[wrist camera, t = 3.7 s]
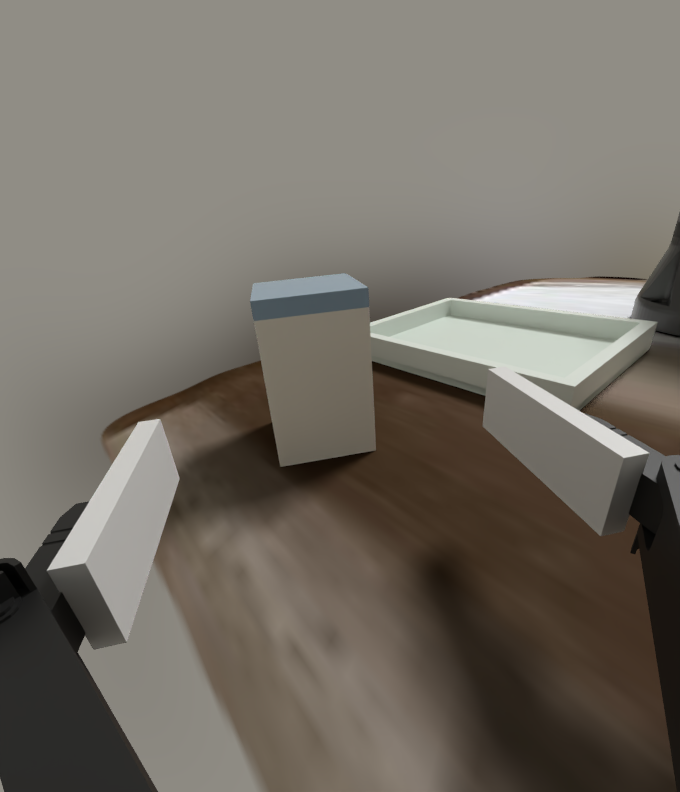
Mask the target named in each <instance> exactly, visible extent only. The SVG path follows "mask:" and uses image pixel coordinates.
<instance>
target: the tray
mask: <svg viewBox="0 0 680 792" xmlns="http://www.w3.org/2000/svg"><path fill="white" fill-rule="evenodd" d="M657 323H658V322H655V321H646V320H637V319H629V318H620V317H611V316H603V315H594V314H586V313H577V312H568V311H560V310H551V309H542V308H534V307H525V306H516V305H508V304H499V303H490V302H482V301H473V300H464V299H456V298H446V299H443V300H440V301H437V302H434V303H431V304H428V305H424V306H421V307H418V308H415V309H412V310H409V311H406V312H403V313H400V314H396V315H393V316H390V317H387V318H384V319H381V320H378V321H374V322H371V323H370V334H371V356H372V361H374V362H377V363H380V364H383V365H387V366H390V367H393V368H396V369H400V370H403V371H406V372H409V373H413V374H416V375H419V376H422V377H426V378H429V379H432V380H435V381H439V382H442V383H445V384H448V385H452V386H455V387H458V388H461V389H465V390H468V391H471V392H474V393H478V394H481V395H484V396H486V386H487V376H488V369H492V368H498V367H507V368H508V369H510V370H512V371H513V372H515V373H517V374H519V375H520V376H522V377H524V378H525V379H527V380H529V381H530V382H532V383H534V384H535V385H537V386H539V387H540V388H542V389H544V390H545V391H547V392H549V393H550V394H552V395H554V396H555V397H557V398H559V399H560V400H562V401H564V402H565V403H567V404H569V405H570V406H572V407H574V408H575V409H577V410H579V411H580V410H581V409H582V408H583V407H584V406H585V405H587V404H588V403H589V402H590V401H591V400H592V399H593V398H595V397H596V396H597V395H598V394H599V393H600V392H601V391H602V390H604V389H605V388H606V387H607V386H608V385H609V384H610V383H612V382H613V381H614V380H615V379H616V378H617V377H618V376H620V375H621V374H622V373H623V372H624V371H625V370H626V369H627V368H629V367H630V366H631V365H632V364H633V363H634V362H635V361H637V360H638V359H639V358H640V357H641V356H642V355H643V354H644V353H646V352H647V351H648V350H649V349H650V347H651V344H652V340H653V337H654V333H655V330H656V327H657Z"/></svg>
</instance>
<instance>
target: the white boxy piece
mask: <svg viewBox="0 0 680 792" xmlns="http://www.w3.org/2000/svg"><path fill="white" fill-rule="evenodd" d="M250 303H251V308H252V314H253V319H254V325H255V330H256V335H257V341H258V347H259V352H260V358H261V363H262V369H263V374H264V380H265V386H266V391H267V397H268V402H269V408H270V413H271V419H272V424H273V430H274V435H275V441H276V446H277V452H278V457H279V463H280V467H283V466H289V465H295V464H300V463H306V462H312V461H318V460H323V459H329V458H335V457H341V456H346V455H352V454H358V453H364V452H369V451H375V450H376V440H375V419H374V398H373V377H372V356H371V334H370V315H369V293H368V287H366V286H365V285H363V284H362V283H360V282H359V281H357V280H356V279H354V278H352V277H351V276H349V275H347V274H346V273H344V274H335V275H326V276H316V277H307V278H298V279H289V280H280V281H271V282H262V283H254V284H253V288H252V294H251V299H250Z"/></svg>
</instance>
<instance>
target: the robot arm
mask: <svg viewBox="0 0 680 792" xmlns="http://www.w3.org/2000/svg"><path fill="white" fill-rule="evenodd" d="M631 318H632V319H637V320H646V321H655V322H658V323H657V327H656V331H660V332H664V333H668V334H673V335H678V336H680V213H679V216H678V220H677V224H676V227H675V231H674V234H673V238H672V241H671V244H670V246H669V248H668V250H667V251H666V253H665V254H664V256H663V257H662V259H661V260H660V262H659V264H658V265H657V267H656V268H655V270H654V271H653V273H652V274H651V276H650V277H649V279H648V280H647V282H646V283H645V285H644V286H643V288H642V289H641V291H640V292H639V294H638V295H637V298H636V300H635V303H634V307H633V311H632V315H631ZM483 427H484V428H485V429H486V430H487V431H488V432H489V433H491V434H492V435H493V436H494V437H495V438H496V439H497V440H498V441H499V442H500V443H501V444H502V445H503V446H505V447H506V448H507V449H508V450H509V451H510V452H511V453H512V454H513V455H514V456H515V457H516V458H517V459H518V460H520V461H521V462H522V463H523V464H524V465H525V466H526V467H527V468H528V469H529V470H530V471H531V472H532V473H533V474H535V475H536V476H537V477H538V478H539V479H540V480H541V481H542V482H543V483H544V484H545V485H546V486H547V487H549V488H550V489H551V490H552V491H553V492H554V493H555V494H556V495H557V496H558V497H559V498H560V499H561V500H562V501H564V502H565V503H566V504H567V505H568V506H569V507H570V508H571V509H572V510H573V511H574V512H575V513H576V514H578V515H579V516H580V517H581V518H582V519H583V520H584V521H585V522H586V523H587V524H588V525H589V526H590V527H591V528H593V529H594V530H595V531H596V532H597V533H598V534H599V535H600V536H604V535H609V534H613V533H618V532H622V531H624V530H625V526H626V523H627V520H628V517H629V514H630V515H631V516H632V517H633V518H635V519H636V520H637V521H638V522H640V525H639V528H638V531H637V534H636V537H635V540H634V542H633V545H632V548H631V553H632V554H635V553H636V551H637V549H640V555H641V561H642V568H643V574H644V581H645V587H646V594H647V600H648V606H649V613H650V619H651V626H652V632H653V639H654V645H655V651H656V658H657V664H658V671H659V677H660V684H661V690H662V696H663V703H664V709H665V716H666V722H667V729H668V735H669V741H670V748H671V754H672V761H673V767H674V774H675V780H676V786H677V792H680V455H672V456H667V457H666V456H664V455H662V454H661V453H659V452H657V451H656V450H654V449H652V448H650V447H649V446H647V445H645V444H644V443H642V442H640V441H638V440H637V439H635V438H633V437H632V436H630V435H629V436H627V434H626V433H625V432H623V431H621V430H620V429H616V427H614V426H613V425H611V424H609V423H608V422H606V421H604V420H602V419H600V418H597V417H594V416H591V415H588V414H584V413H582V412H580V411H579V410H577V409H575V408H574V407H572V406H570V405H569V404H567V403H565V402H564V401H562V400H560V399H559V398H557V397H555V396H554V395H552V394H550V393H549V392H547V391H545V390H544V389H542V388H540V387H539V386H537V385H535V384H534V383H532V382H530V381H529V380H527V379H525V378H524V377H522V376H520V375H519V374H517V373H515V372H513V371H512V370H510V369H508V368H507V367H498V368H492V369H488V376H487V386H486V397H485V407H484V418H483ZM179 479H180V478H179V475H178V472H177V469H176V466H175V463H174V460H173V457H172V454H171V451H170V448H169V444H168V441H167V438H166V435H165V432H164V429H163V426H162V423H161V420H160V419H157V420H150V421H143V422H138V424H137V425H136V427H135V429H134V430H133V432H132V434H131V435H130V437H129V438H128V440H127V442H126V443H125V445H124V446H123V448H122V450H121V451H120V453H119V455H118V456H117V458H116V459H115V461H114V463H113V464H112V466H111V467H110V469H109V471H108V472H107V474H106V476H105V477H104V479H103V481H102V482H101V484H100V485H99V487H98V489H97V490H96V492H95V494H94V495H93V497H92V498H91V500H90V501H89V502H84V503H78V504H75V505H74V506H73V507H72V508H71V509H69V511H67V512H66V513H65V514H64V515H62V517H60V518H59V520H58V521H57V523H56V524H55V526H54V527H53V529H52V530H51V534H49V535H48V536H47V538H46V539H45V540H44V542H43V543H42V544H43V545H42V546H41V547H40V548H39V549H38V551H37V552H36V553H35V555H34V556H33V558H32V559H31V561H30V562H29V564H28V565H27V567H26V568H24V567H23V565H22V563H21V562H19V561H18V560H16V559H15V558H3V559H0V779H1V781H2V785H3V789H4V792H158V791H157V789H156V787H155V786H154V784H153V782H152V781H151V779H150V777H149V775H148V774H147V772H146V770H145V768H144V767H143V765H142V763H141V761H140V760H139V758H138V756H137V754H136V753H135V751H134V749H133V747H132V746H131V744H130V742H129V741H128V739H127V737H126V735H125V733H124V732H123V730H122V728H121V727H120V725H119V723H118V721H117V720H116V718H115V716H114V714H113V713H112V711H111V709H110V708H109V706H108V704H107V702H106V701H105V699H104V697H103V695H102V694H101V692H100V690H99V688H98V687H97V685H96V683H95V682H94V680H93V678H92V676H91V675H90V673H89V671H88V669H87V668H86V666H85V664H84V662H83V661H82V659H81V657H80V656H79V654H78V653H77V652H78V650H79V647H80V645H81V642H82V640H83V638H84V636H86V637H87V639H88V641H89V643H90V644H91V646H92V648H93V649H99V648H103V647H108V646H112V645H117V644H121V643H126V642H127V640H128V637H129V634H130V631H131V627H132V624H133V621H134V618H135V615H136V612H137V609H138V606H139V603H140V600H141V597H142V594H143V591H144V587H145V584H146V581H147V578H148V575H149V572H150V569H151V566H152V563H153V560H154V557H155V553H156V550H157V547H158V544H159V541H160V538H161V535H162V532H163V529H164V526H165V523H166V519H167V516H168V513H169V510H170V507H171V504H172V501H173V498H174V495H175V492H176V488H177V485H178V482H179Z"/></svg>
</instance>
